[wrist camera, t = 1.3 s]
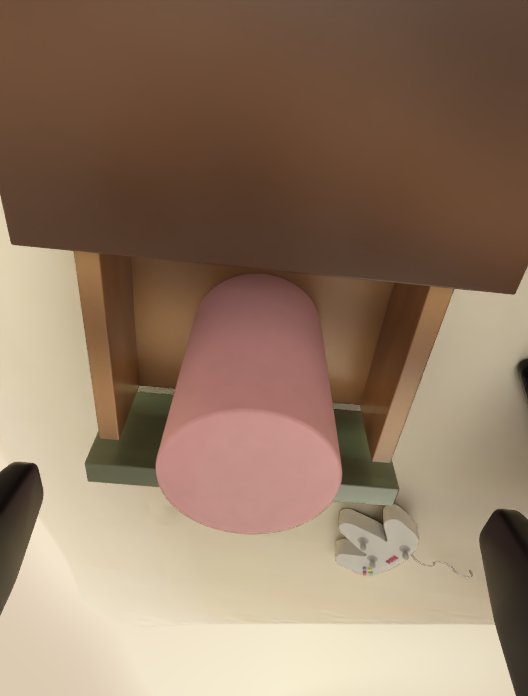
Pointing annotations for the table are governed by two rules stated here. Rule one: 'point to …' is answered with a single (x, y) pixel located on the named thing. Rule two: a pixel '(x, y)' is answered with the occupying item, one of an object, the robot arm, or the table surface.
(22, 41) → the cabinet
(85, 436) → the table surface
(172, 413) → the pink cylinder
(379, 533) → the game controller
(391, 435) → the drawer
